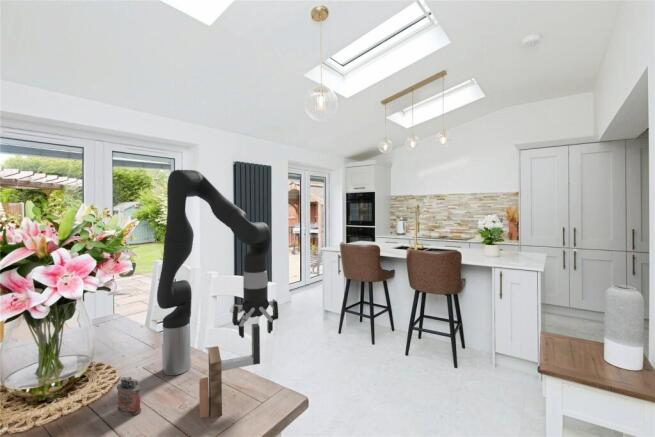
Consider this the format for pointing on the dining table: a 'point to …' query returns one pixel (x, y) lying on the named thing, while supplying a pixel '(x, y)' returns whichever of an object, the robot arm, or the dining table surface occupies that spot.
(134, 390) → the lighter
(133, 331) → the dining table surface
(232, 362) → the l-shaped bracket
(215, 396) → the block
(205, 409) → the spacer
